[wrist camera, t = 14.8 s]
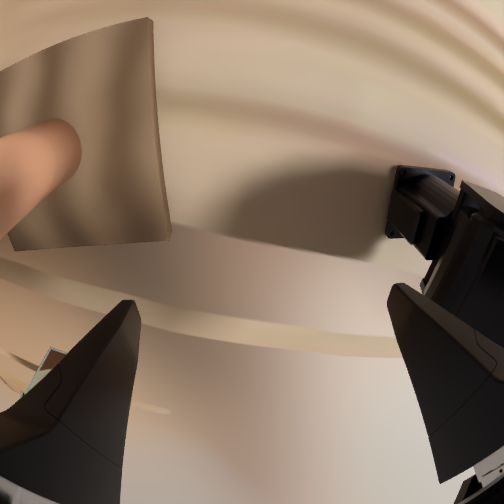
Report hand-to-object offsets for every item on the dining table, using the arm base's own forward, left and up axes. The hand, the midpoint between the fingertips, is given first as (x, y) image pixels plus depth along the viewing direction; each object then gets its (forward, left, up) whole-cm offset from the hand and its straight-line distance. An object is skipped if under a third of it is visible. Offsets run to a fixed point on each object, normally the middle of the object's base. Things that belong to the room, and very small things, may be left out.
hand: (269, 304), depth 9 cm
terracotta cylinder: (+14, -4, -12) cm, 18 cm away
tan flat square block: (+14, -4, -13) cm, 20 cm away
